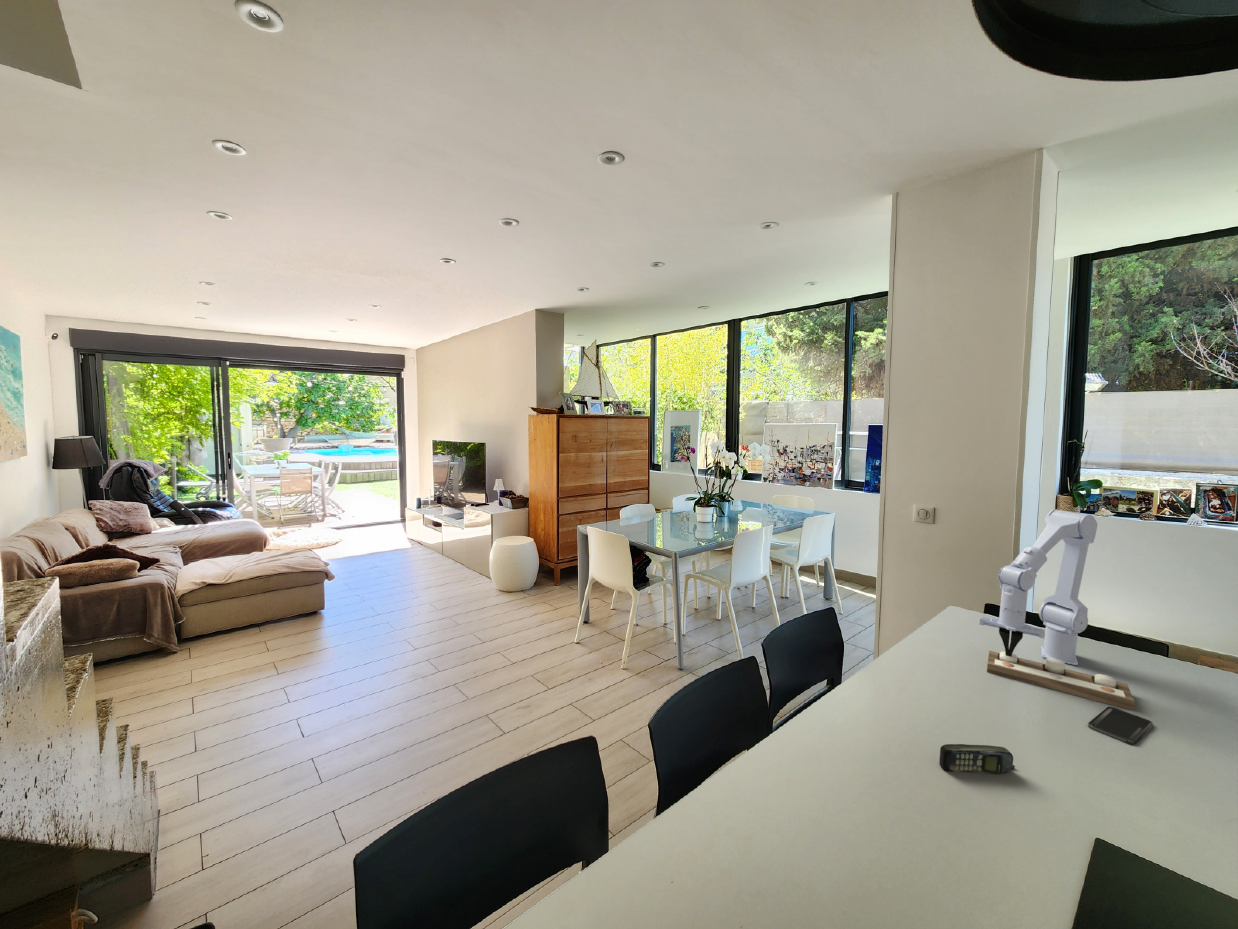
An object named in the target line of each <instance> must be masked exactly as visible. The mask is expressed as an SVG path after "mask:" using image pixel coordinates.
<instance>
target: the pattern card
mask: <svg viewBox="0 0 1238 929" xmlns="http://www.w3.org/2000/svg"><path fill="white" fill-rule="evenodd" d="M994 665H998V666H1002V667H1006V668H1010V669H1014V670H1018V671H1022V672H1026V673H1030V674H1034V675H1038V676H1042V677H1045V678H1049V679H1053V680H1057V681H1061V682H1065V683H1069V684H1073V685H1077V686H1081V687H1085V688H1089V689H1093V690H1097V691H1101V692H1105V693H1109V694H1113V695H1116V696H1120V697H1124V698H1125V694H1124V692H1123V691H1122V690H1118V689H1114V688H1109V687H1105V686H1101V685H1097V684H1093V683H1089V682H1085V681H1081V680H1077V679H1073V678H1069V677H1065V676H1061V675H1057V674H1053V673H1049V672H1045V671H1041V670H1037V669H1033V668H1029V667H1025V666H1021V665H1017V664H1013V663H1009V662H1005V661H1001V660H997V659H995V663H994Z"/></svg>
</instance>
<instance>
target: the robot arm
mask: <svg viewBox="0 0 1238 929" xmlns="http://www.w3.org/2000/svg"><path fill="white" fill-rule="evenodd" d="M1097 530H1098V521H1097V520H1096V519H1095V517H1094V516H1093V514H1085V513H1080V512H1073V511H1068V510H1067V511H1066V510H1060V509H1056V508H1053V509H1051V510H1049V512H1048V513H1047V514H1046V516H1045V518H1044V528H1043V530H1042V531H1041V533H1040V535H1039V536H1038V537H1037V538H1036V540H1035V541H1034V543H1033V545H1032V546H1027V547H1024V548H1023V550H1021V552H1020V553H1019V554H1018V555H1017V556H1016V557H1015V559H1014V560H1013V561H1012V562H1011V563H1010V564H1007V565H1003V566H1002V567H1001V568H1000V569H999V572H998V574H997V580H998V582H999V590H1001V595H1000V607H999V616H998V617H999V618H995V617H994V618H993V617H988V616H987V617H986V616H980V617H979V625H980V626H989V627H993V628H998V634H999V636H1000V638H1001V640H1002V643H1003V646H1004V652H1005V655H1006V656H1010V657H1012V653H1013V654H1014V651H1015V649H1016V648H1017V646H1018V644H1019V643H1020V642H1021V641H1022V639H1023V636H1024V635H1028V636H1029V635H1030V636H1032V637H1033V636H1034V637H1039V639H1044V641H1043V645H1040V651H1041V652H1040V653H1041V657H1042V658H1043V659H1046V658H1055V659H1058V660H1061V661H1063V662H1064V663H1065V664H1069V665H1073V666H1078V665H1079V662H1078V659H1077V655H1076V654H1077V644H1078V634H1081V633H1082V632H1084V631H1085V630H1086V629H1087V627H1088V624H1089V618H1088V611H1089V608H1088V607H1087V606H1085V604H1084V603H1083V602H1082V601H1080V599H1079V594H1080V589H1081V584H1082V579H1083V575H1084V569H1085V564H1086V559H1087V555H1088V550H1089V545H1090V544H1094V543H1095V539H1096V534H1097ZM1061 540H1062V541H1063V542H1064V548H1063V552H1062V557H1061V560H1060V566H1059V570H1058V575H1057V581H1056V586H1055V590H1054V593H1053V594H1051V595H1047V596H1045V597H1044V599H1043V602H1042V604H1041V605H1040V607H1039V609H1038V616H1039V619H1040V620H1041V621H1042V622H1043V624H1042V625H1044V626H1045V629H1043V628H1039V627H1036V626H1032V625H1029V624H1025V623H1026V614H1027V605H1028V595H1029V590H1031V589H1032V588H1033V587H1034V584H1035V581H1036V579H1037V576H1038V575H1037V573H1038V572H1039V570H1041V568H1042V567H1043V565H1045V564H1046V563H1047V561H1048V557H1047V554H1048V553H1049V552H1050V551H1051V550H1052V549H1053V548H1054V547H1055V546H1056V545H1057V544H1058V543H1060V541H1061ZM1023 634H1024V635H1023Z"/></svg>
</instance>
